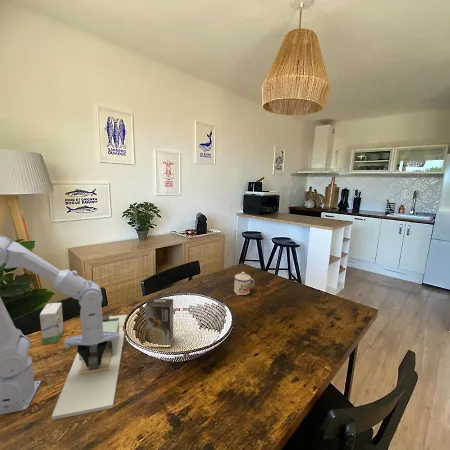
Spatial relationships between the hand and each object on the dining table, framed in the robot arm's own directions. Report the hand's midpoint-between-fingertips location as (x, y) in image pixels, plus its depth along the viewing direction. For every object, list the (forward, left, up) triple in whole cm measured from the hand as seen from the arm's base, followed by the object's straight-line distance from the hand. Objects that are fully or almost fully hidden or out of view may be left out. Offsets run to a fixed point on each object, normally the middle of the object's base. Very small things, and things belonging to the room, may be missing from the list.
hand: (94, 363), depth 78 cm
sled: (+10, 0, -2) cm, 11 cm away
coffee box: (+10, -20, -3) cm, 23 cm away
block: (+10, 0, -1) cm, 11 cm away
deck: (+8, 0, -3) cm, 9 cm away
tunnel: (+10, 0, -3) cm, 11 cm away
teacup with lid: (+44, -66, -3) cm, 80 cm away
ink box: (+22, +18, -3) cm, 29 cm away
